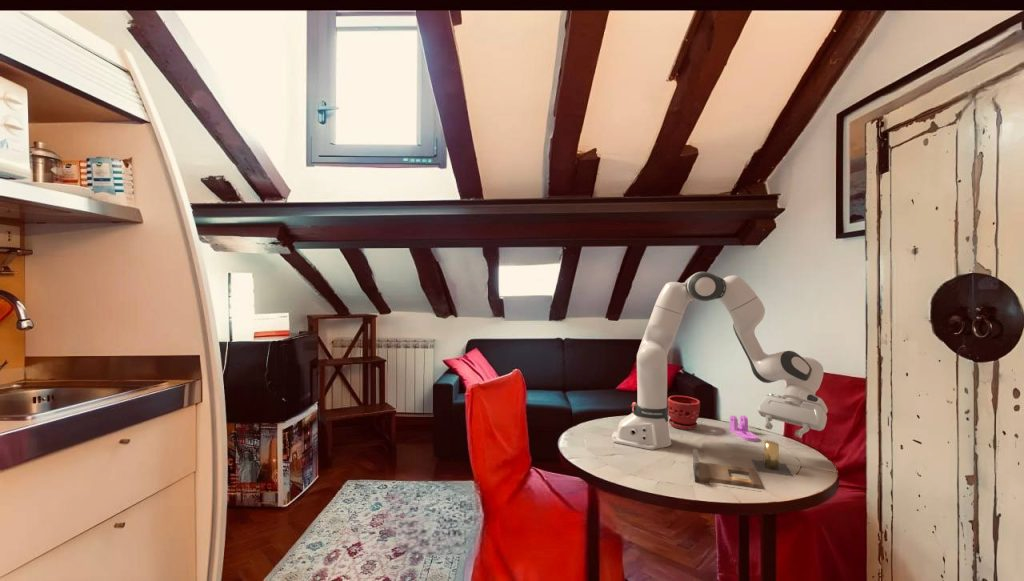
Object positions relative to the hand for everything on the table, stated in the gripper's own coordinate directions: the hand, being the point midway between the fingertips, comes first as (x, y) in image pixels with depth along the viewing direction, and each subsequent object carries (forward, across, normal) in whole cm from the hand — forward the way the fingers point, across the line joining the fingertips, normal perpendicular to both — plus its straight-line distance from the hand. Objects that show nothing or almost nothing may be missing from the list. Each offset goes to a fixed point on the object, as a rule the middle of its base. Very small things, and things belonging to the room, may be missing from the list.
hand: (782, 432), depth 143 cm
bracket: (-4, -23, +21) cm, 32 cm away
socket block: (+26, -4, -10) cm, 28 cm away
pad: (+13, 0, +3) cm, 13 cm away
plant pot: (+3, -44, +13) cm, 46 cm away
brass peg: (+12, 0, +2) cm, 13 cm away
